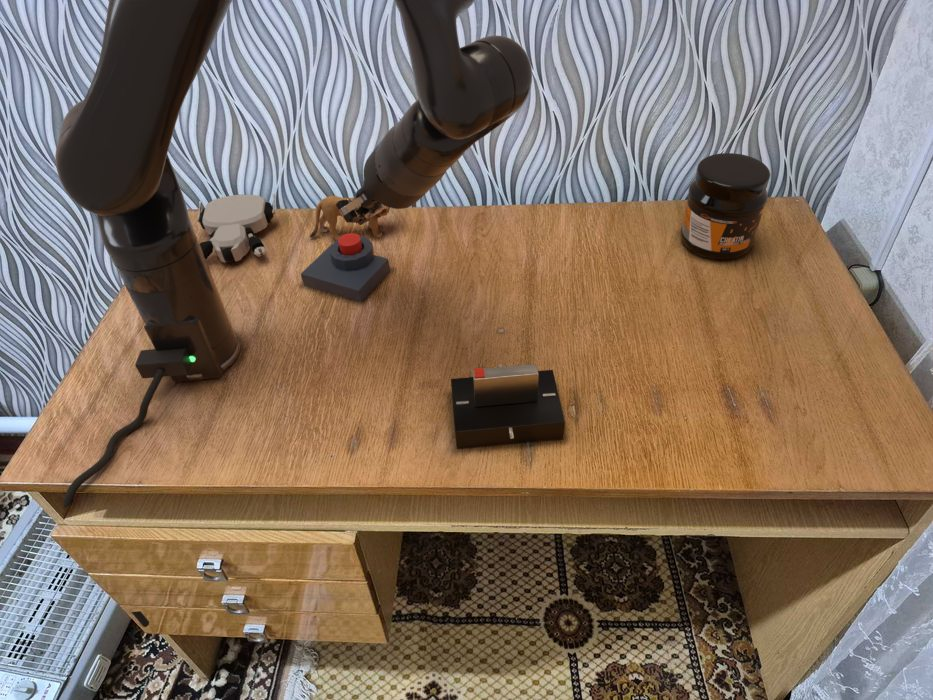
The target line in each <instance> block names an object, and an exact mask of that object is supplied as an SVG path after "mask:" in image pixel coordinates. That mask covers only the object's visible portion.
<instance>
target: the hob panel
mask: <svg viewBox="0 0 933 700" xmlns="http://www.w3.org/2000/svg"><path fill="white" fill-rule="evenodd" d="M498 367H503V363H498ZM538 373H539V377H538V401H536V402H525V403H514V404H503V405H492V406H481V407H476V406H475V398H474V384H473V376H468V377H467V376H465V377H457V378H456V377H455V378H451V379H450V385H451V387H450V388H451V398H452V411H453V412H452V413H453V424H454V435H455V436H454V437H455V446H456V449H457V450H458V449H470V448H480V447H490V446H491V447H493V446H502V445H503V446H504V445H513V444H515V445H516V444H523V443H534V442H544V441H555V440H556V441H557V440H558V441H559V440H564V438H565V427H566V420H565V416H564V412H563V407H562V403H561V400H560V395H559V390H558V386H557V382H556V377H555V374H554V369H545V370H544V369H543V370H538Z"/></svg>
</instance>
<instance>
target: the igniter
mask: <svg viewBox="0 0 933 700" xmlns="http://www.w3.org/2000/svg"><path fill="white" fill-rule="evenodd" d="M359 236H360V238H361V244H362V250H361V252H360V253H357V254H355V255H348V256H346V255H343V254H342V253H341V252H340V247H339V243H338V240H339V239H338V240H337V241H336V240H335V241H334V242H333V243H331V244H330V245H328V247H327V248H326V249H325V250H324V251H323V252H322V253H320V255H318V256H317V257H316V258H315V260H313V261H312V262H311V263H310V264H309V265H308V266H307V267H306V268H305V269H304V270H303V271H302V272H301V273H300V277H301V280H302V285H303V286H305V287H308V288H312V289H315V290H319V291H322V292H326V293H328V294H332V295H334V296H335V295H336V296H339V297H342V298H346V299H349V300H352V301H356V302H358V303H362V302H363V301H364V300H365V299H366V298H367V297H368V296H369V294H370V293H372V291H373V290H374V289H375V288H376V287H377V286H378V284H380V282H381V281H382V280H383V279H384V278H385V277H386V276H387V275H388V274H389V273H390V271H391V267H390V260H389V258H387V257H384V256H379V255H375V251H374V245H373V242H372V241H371V240H370V239H369V238H368V237H366V236H362V235H359Z"/></svg>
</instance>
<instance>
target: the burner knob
mask: <svg viewBox="0 0 933 700" xmlns="http://www.w3.org/2000/svg"><path fill="white" fill-rule="evenodd" d="M538 371H539V369H538V364H537V363H529V364H519V365H518V364H517V365H508V366H502V367H499V366H495V367H487V368H486V367H485V368H484V367H476V368H473V369H472V377H473V384H474V398H475V406H476V407H481V406H492V405H503V404H514V403H525V402H536V401H538V377H539V373H538Z"/></svg>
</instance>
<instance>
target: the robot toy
mask: <svg viewBox="0 0 933 700" xmlns="http://www.w3.org/2000/svg"><path fill="white" fill-rule="evenodd" d="M272 199H273V200H272V204H271V202H270V201H269V202H268V201H267V199H266V198H265V197H263V196H260V195H256V194H233V195H227V196H223V197H218V198H215V199H213V200H211V201H210V202H208V203H206V204H205V207H204V208H202V204H203V203H202V201H201V200H199V201H198V215H197V218H196V221H197V223H199V224H200V227H201V229H202V230H205V232H206V233H207V234H208V235H209V236H210V237H209V239H208V240H204V241H201V242H199V245H200V247H201V250H202V252H203V255H204V257H205V260H207V259H208V258H209V257H210V256H211V255H212V254H213V252H214V251H215V254H216V256H217V257H218V258H219V260H220V262H221V263H224V264H226V263H231V262H233V261H235V263H236V262H239V261H241V260H242V259H243V257H245V256H247V254H248V253H249V251H250V250H251V251H252V252H253V254H254V255H255V256H256V257H262V255H263V256H265V255H266V254H267V248H266V247H265V245H264V243H263V242H262V240H261V239H260V238H259V236H258V235H257V236H256V235H255V234H257V233H260V232H261V231H263V230H264V229H266V228H268V225H269V224H270V223H271V222H272V220H273V218H274V216H275V215H276V211H277V210H276V194H275V192H273V194H272ZM272 205H273V206H272Z"/></svg>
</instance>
